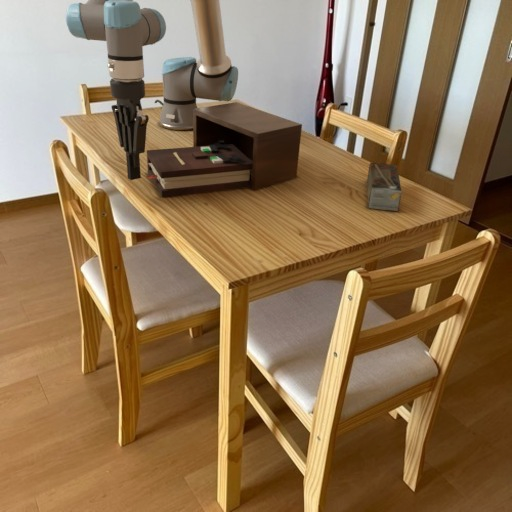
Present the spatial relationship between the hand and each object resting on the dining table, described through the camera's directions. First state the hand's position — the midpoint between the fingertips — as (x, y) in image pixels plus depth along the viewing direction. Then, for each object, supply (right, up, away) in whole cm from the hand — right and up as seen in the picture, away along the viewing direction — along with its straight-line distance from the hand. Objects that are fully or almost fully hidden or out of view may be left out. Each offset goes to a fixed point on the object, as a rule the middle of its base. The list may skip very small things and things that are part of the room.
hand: (134, 178), depth 120 cm
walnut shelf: (+27, +7, +25) cm, 37 cm away
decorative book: (+15, +2, +15) cm, 21 cm away
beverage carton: (+64, -3, +13) cm, 66 cm away
